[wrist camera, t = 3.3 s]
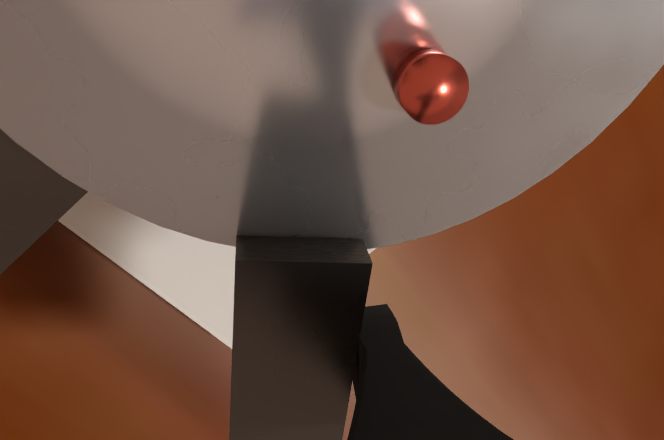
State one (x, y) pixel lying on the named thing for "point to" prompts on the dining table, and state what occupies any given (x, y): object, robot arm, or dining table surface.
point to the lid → (314, 142)
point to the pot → (28, 199)
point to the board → (164, 261)
